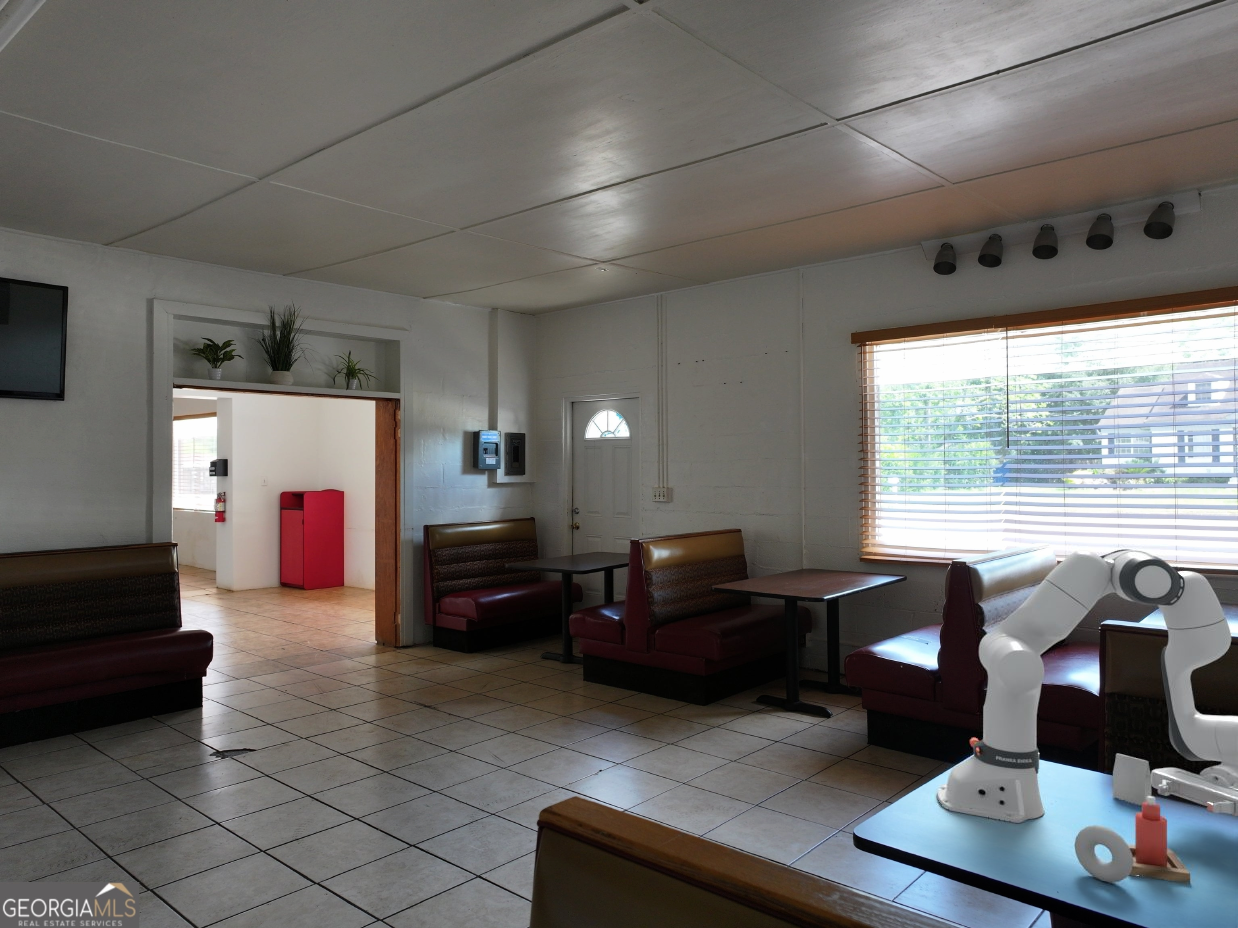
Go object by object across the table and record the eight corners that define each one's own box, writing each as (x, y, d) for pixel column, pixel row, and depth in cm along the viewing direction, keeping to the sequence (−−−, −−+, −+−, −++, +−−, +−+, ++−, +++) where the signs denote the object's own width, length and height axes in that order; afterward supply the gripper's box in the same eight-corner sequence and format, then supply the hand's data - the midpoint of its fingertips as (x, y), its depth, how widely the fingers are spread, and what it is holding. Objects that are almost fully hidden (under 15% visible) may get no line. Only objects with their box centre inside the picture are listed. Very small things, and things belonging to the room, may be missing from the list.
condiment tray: (1129, 875, 158) (1129, 865, 158) (1114, 852, 168) (1114, 843, 168) (1190, 883, 155) (1190, 873, 155) (1172, 859, 165) (1172, 850, 165)
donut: (1136, 887, 154) (1136, 833, 154) (1129, 893, 151) (1129, 838, 151) (1078, 867, 161) (1079, 815, 161) (1071, 872, 159) (1071, 820, 159)
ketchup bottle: (1143, 869, 159) (1143, 802, 159) (1130, 857, 165) (1130, 791, 165) (1172, 871, 159) (1172, 803, 159) (1158, 858, 164) (1158, 792, 164)
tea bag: (1144, 807, 190) (1144, 763, 190) (1112, 797, 196) (1113, 755, 196) (1151, 803, 193) (1151, 759, 193) (1119, 793, 198) (1119, 751, 198)
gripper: (1172, 756, 183) (1134, 766, 177) (1280, 790, 165) (1241, 802, 158) (1172, 785, 183) (1133, 796, 177) (1280, 822, 165) (1241, 835, 158)
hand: (1185, 799), depth 167 cm, fingers open, 8 cm apart
